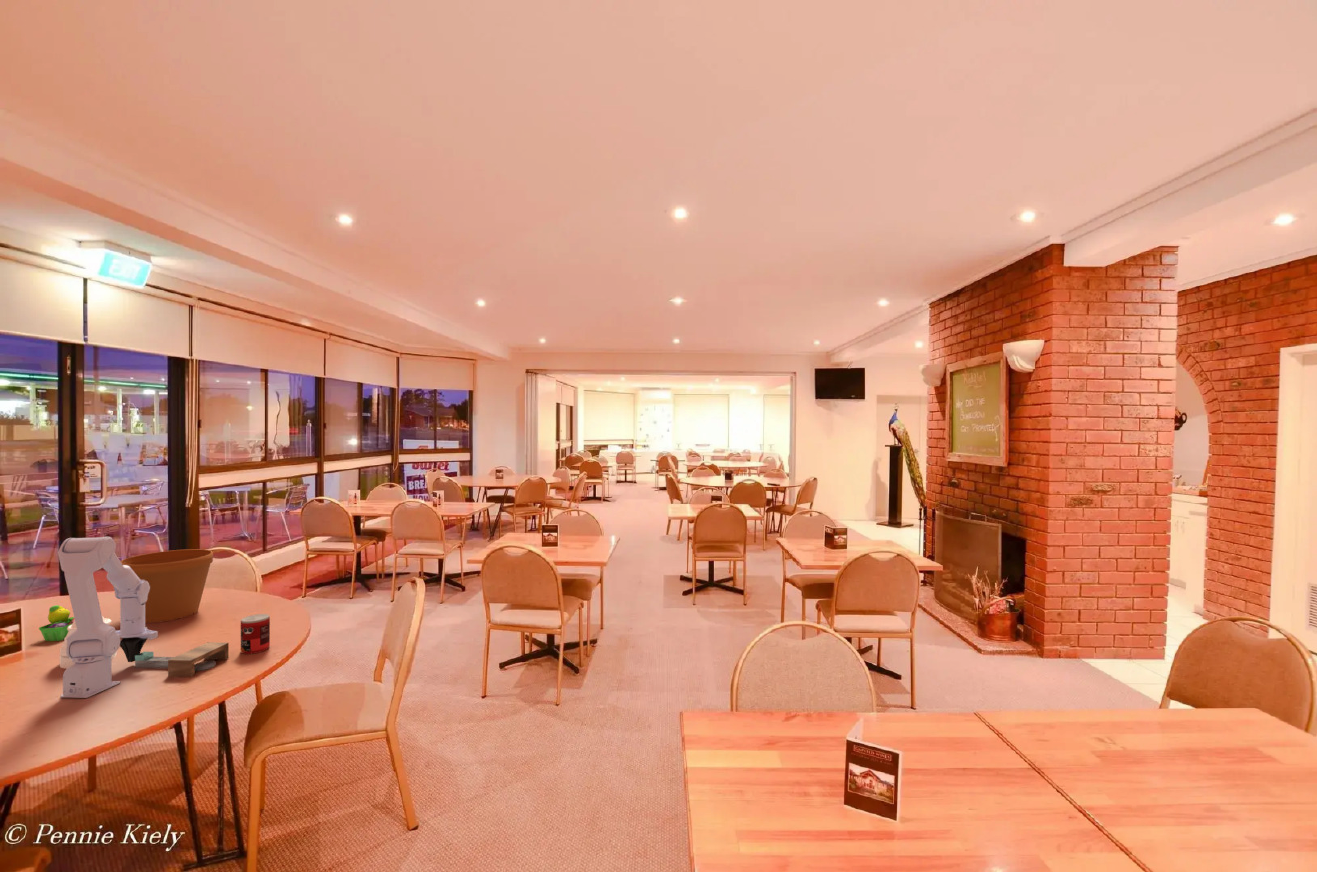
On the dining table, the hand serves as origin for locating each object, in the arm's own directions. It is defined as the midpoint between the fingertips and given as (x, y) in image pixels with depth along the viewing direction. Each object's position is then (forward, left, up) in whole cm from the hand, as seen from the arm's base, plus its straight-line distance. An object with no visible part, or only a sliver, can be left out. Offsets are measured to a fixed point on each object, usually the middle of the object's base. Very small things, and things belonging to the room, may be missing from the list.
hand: (133, 660), depth 175 cm
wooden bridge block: (0, -22, -1) cm, 22 cm away
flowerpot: (+46, +33, -2) cm, 57 cm away
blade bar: (0, -10, -2) cm, 10 cm away
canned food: (+14, -29, -2) cm, 32 cm away
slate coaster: (0, -23, -2) cm, 23 cm away
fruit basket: (+22, +49, -2) cm, 54 cm away
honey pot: (+3, +18, -2) cm, 18 cm away
